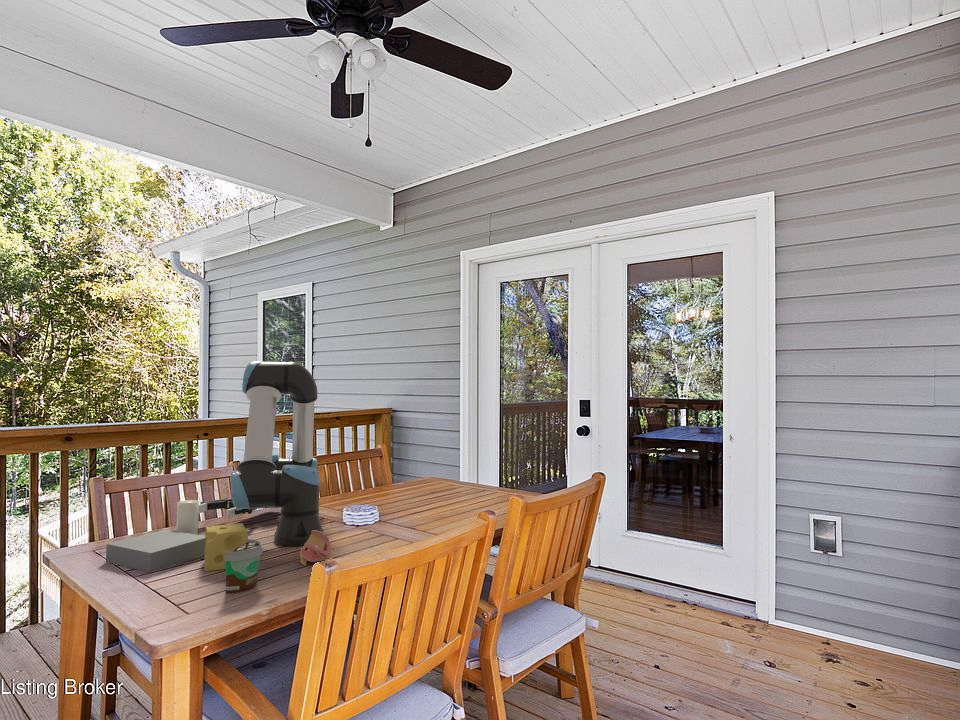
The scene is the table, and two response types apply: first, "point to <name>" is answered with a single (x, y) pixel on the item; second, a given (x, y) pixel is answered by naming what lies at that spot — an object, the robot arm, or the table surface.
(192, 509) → the ceramic jar
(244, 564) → the food container
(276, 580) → the table surface
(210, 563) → the cheese
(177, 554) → the plinth
